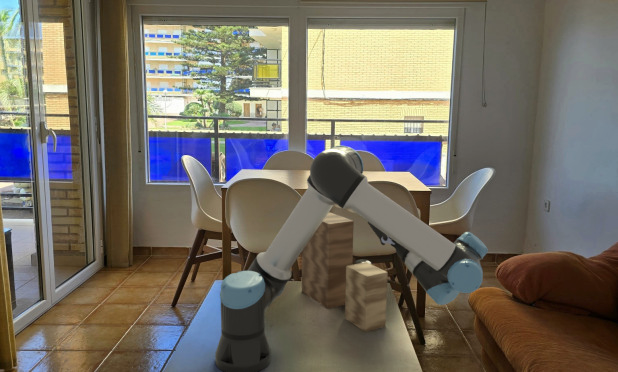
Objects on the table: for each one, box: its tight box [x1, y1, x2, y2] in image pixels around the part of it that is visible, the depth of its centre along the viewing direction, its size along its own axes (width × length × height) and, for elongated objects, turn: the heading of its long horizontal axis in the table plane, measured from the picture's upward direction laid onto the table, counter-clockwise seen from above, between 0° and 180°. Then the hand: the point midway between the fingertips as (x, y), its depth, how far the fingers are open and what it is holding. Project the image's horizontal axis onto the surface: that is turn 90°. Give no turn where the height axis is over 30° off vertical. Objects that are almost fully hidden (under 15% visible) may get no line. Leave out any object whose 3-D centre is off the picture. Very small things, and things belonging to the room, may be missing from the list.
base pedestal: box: [344, 262, 388, 333], centre depth 152 cm, size 11×8×18 cm
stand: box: [301, 211, 355, 310], centre depth 171 cm, size 18×10×30 cm, turn 31°
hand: (370, 201), depth 147 cm, fingers closed on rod, 4 cm apart
